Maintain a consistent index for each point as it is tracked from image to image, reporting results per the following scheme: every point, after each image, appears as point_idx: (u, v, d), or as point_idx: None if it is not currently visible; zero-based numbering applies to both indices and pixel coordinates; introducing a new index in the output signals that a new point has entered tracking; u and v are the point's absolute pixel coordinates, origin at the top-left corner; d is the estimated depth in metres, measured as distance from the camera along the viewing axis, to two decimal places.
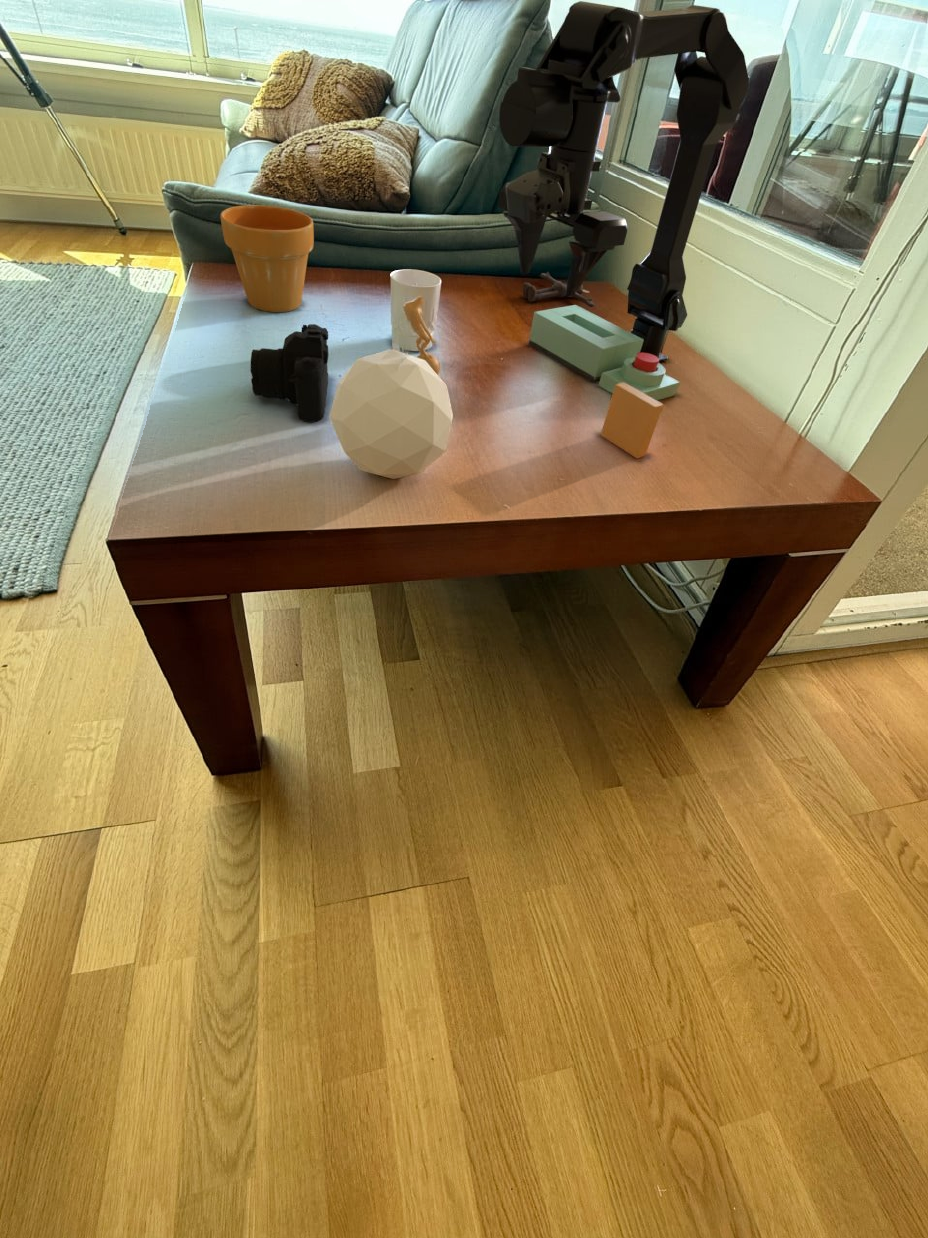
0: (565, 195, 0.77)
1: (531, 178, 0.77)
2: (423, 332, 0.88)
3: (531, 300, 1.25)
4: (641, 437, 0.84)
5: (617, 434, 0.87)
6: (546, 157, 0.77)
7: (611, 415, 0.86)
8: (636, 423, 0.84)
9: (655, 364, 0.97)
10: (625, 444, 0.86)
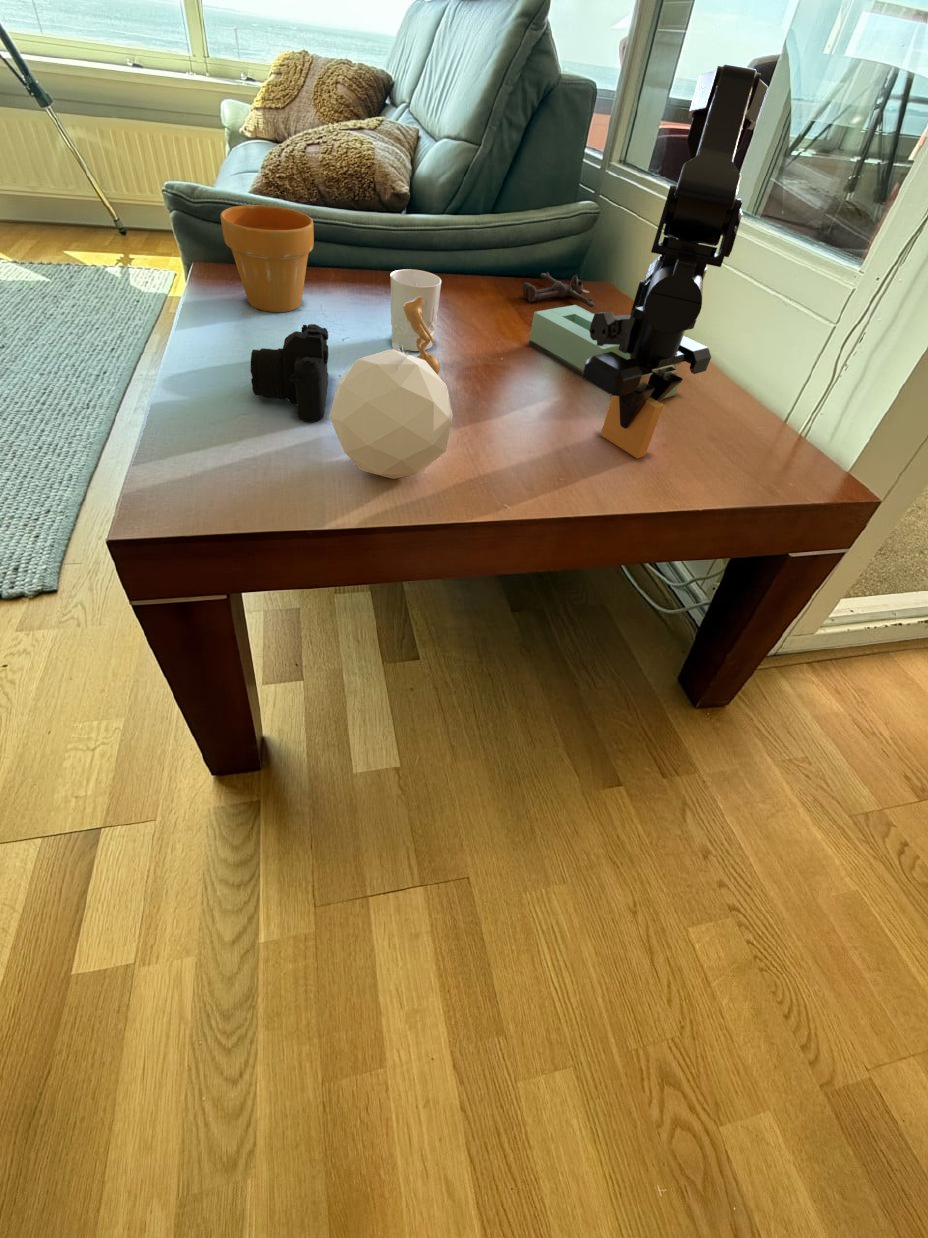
0: (624, 336, 0.78)
1: (630, 316, 0.80)
2: (423, 332, 0.88)
3: (531, 300, 1.25)
4: (641, 437, 0.84)
5: (617, 434, 0.87)
6: None
7: (611, 415, 0.86)
8: (636, 423, 0.84)
9: None
10: (624, 444, 0.86)
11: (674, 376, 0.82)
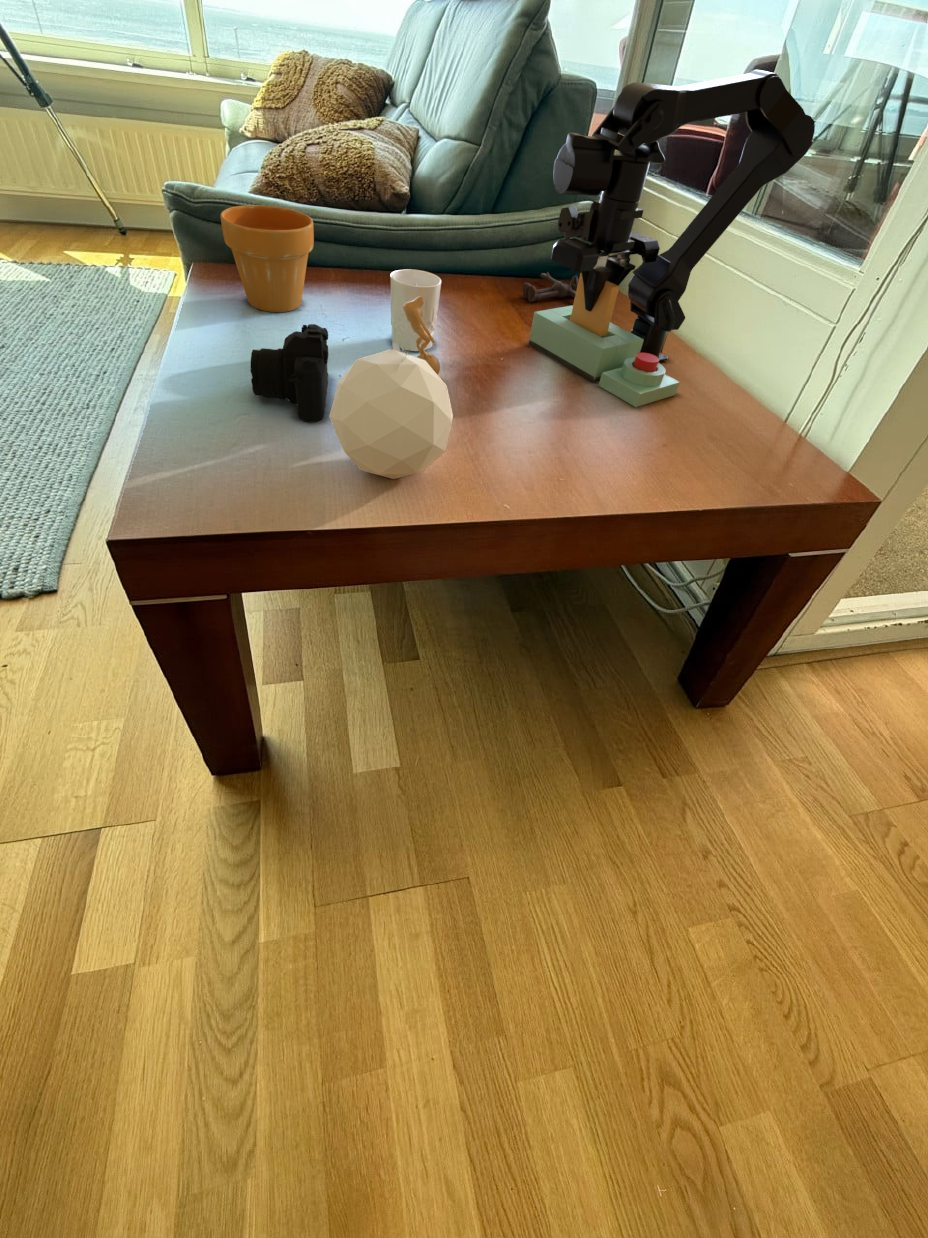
0: (585, 226, 0.95)
1: None
2: (423, 332, 0.88)
3: (531, 300, 1.25)
4: (602, 316, 1.01)
5: (583, 317, 1.03)
6: None
7: (578, 301, 1.03)
8: (597, 304, 1.00)
9: (655, 364, 0.97)
10: (589, 326, 1.03)
11: (628, 264, 0.98)
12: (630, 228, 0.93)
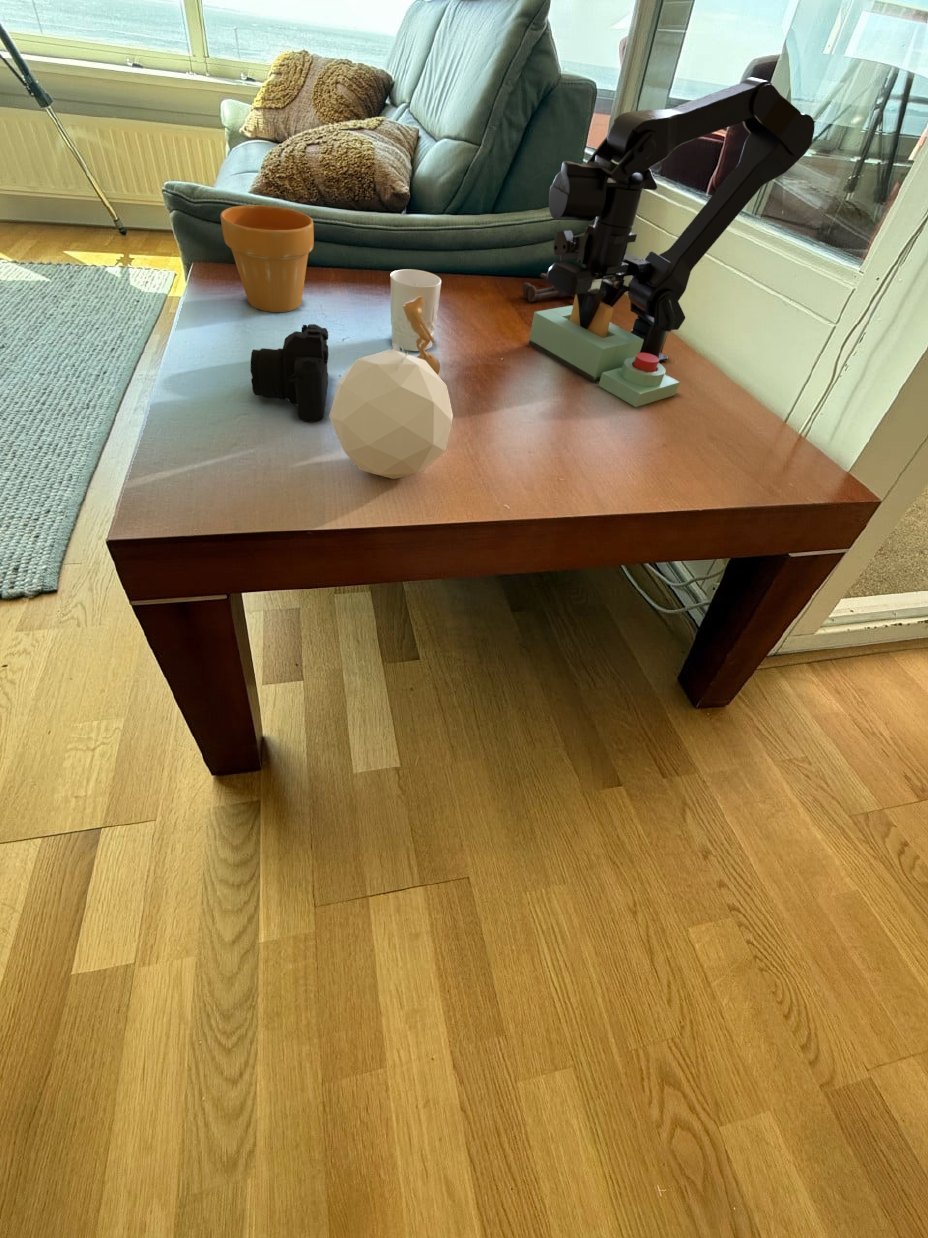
0: (580, 249, 0.97)
1: None
2: (423, 332, 0.88)
3: (531, 300, 1.25)
4: None
5: None
6: None
7: (573, 321, 1.05)
8: (592, 325, 1.03)
9: (655, 364, 0.97)
10: None
11: (622, 285, 1.01)
12: (624, 252, 0.95)
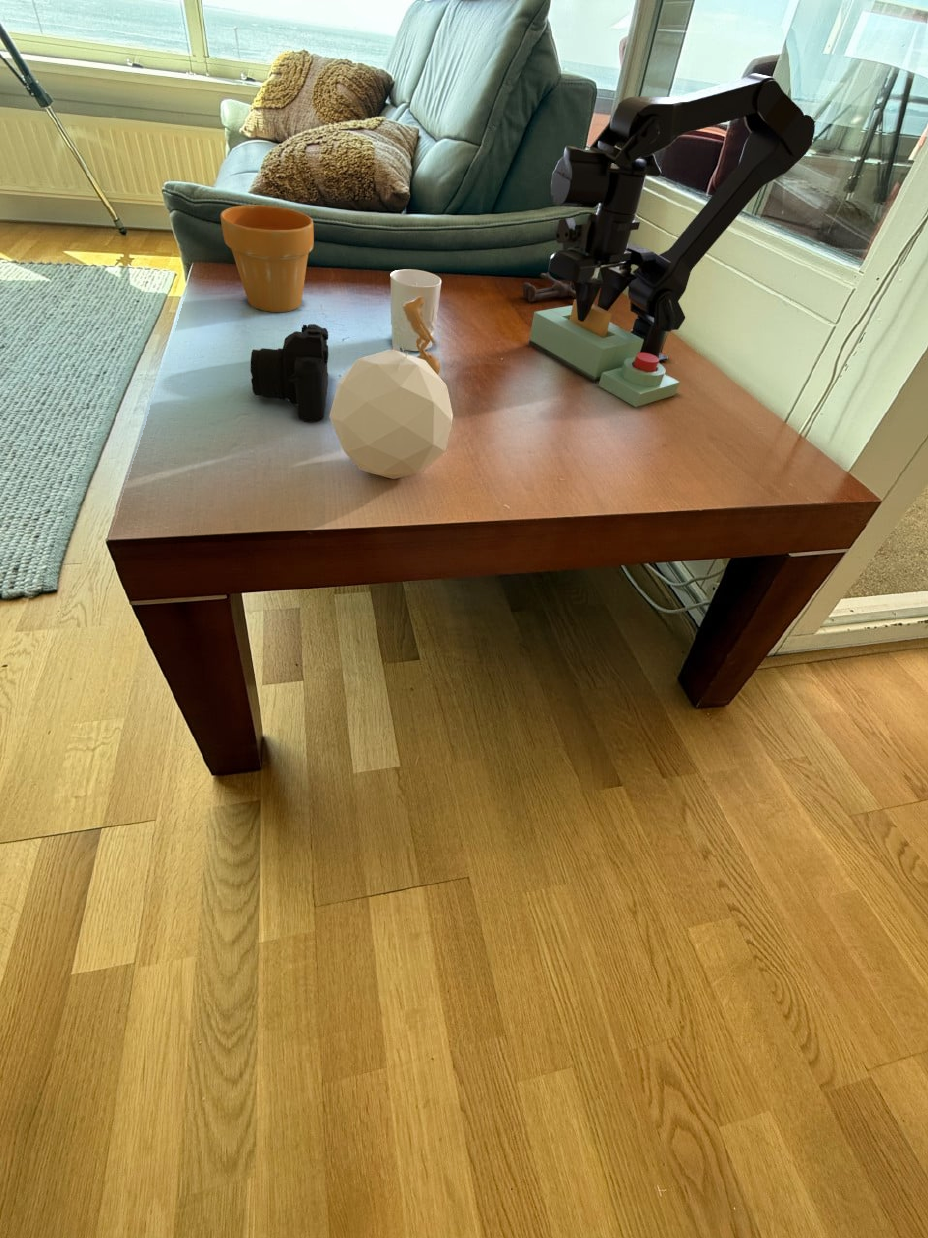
0: (582, 237, 0.96)
1: None
2: (423, 332, 0.88)
3: (531, 300, 1.25)
4: None
5: None
6: None
7: None
8: (590, 330, 1.03)
9: (655, 364, 0.97)
10: None
11: (630, 274, 1.00)
12: (627, 240, 0.94)
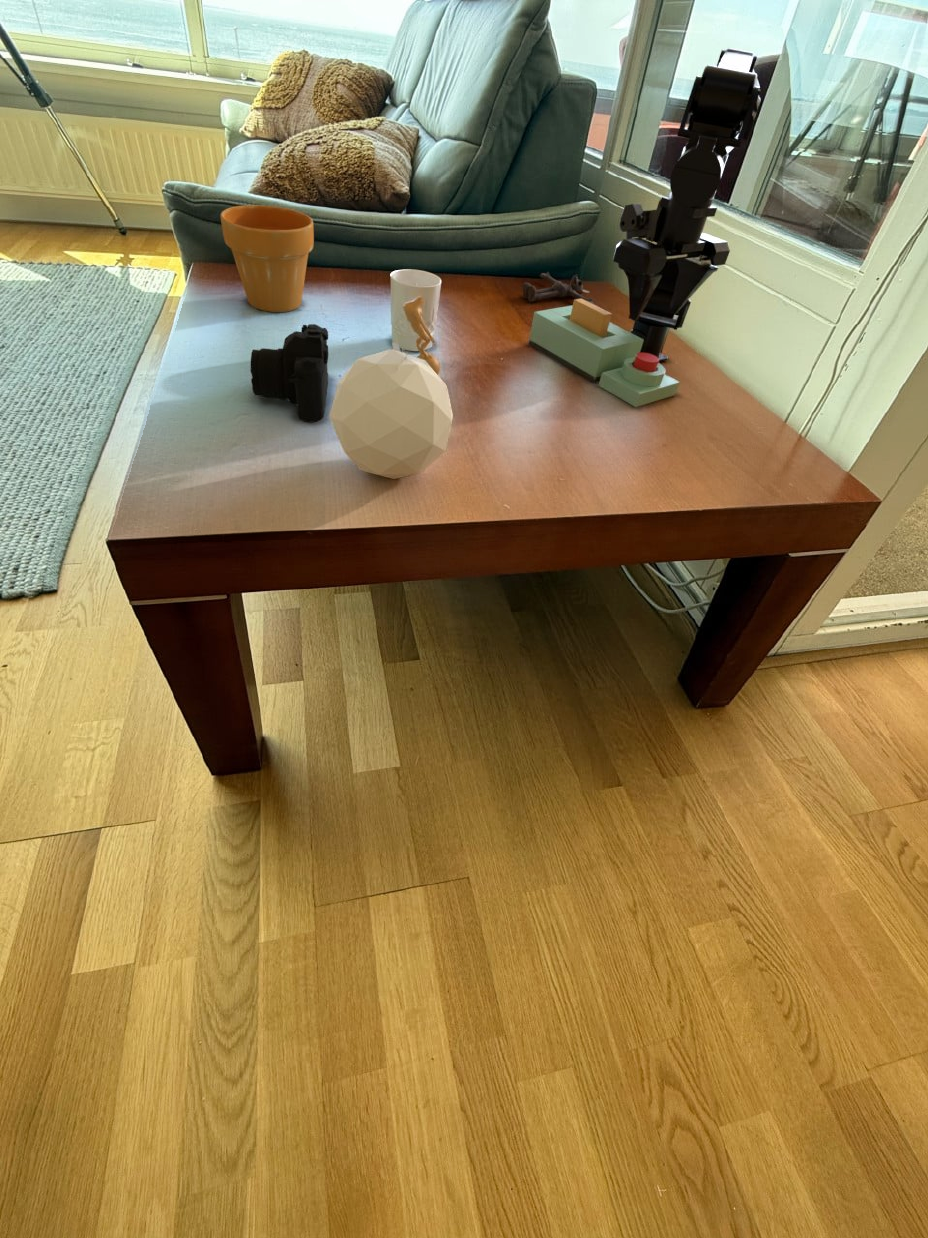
0: (651, 225, 0.86)
1: None
2: (423, 332, 0.88)
3: (531, 300, 1.25)
4: None
5: None
6: None
7: None
8: (590, 330, 1.03)
9: (655, 364, 0.97)
10: None
11: (710, 265, 0.92)
12: (701, 227, 0.85)
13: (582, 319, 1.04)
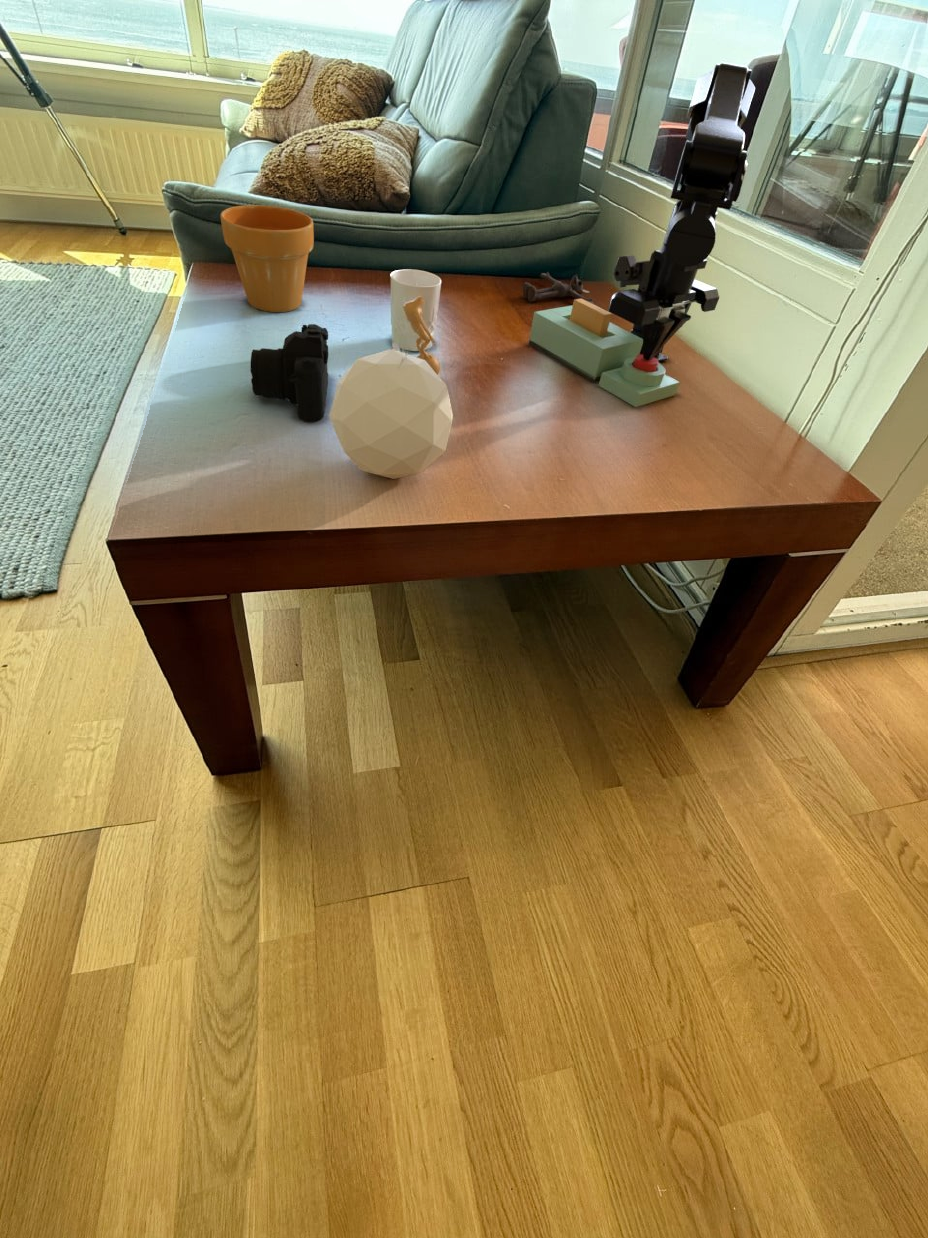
0: (644, 276, 0.90)
1: (649, 260, 0.93)
2: (423, 332, 0.88)
3: (531, 300, 1.25)
4: None
5: None
6: None
7: None
8: (590, 330, 1.03)
9: (654, 366, 0.97)
10: None
11: (683, 314, 0.94)
12: (693, 279, 0.88)
13: (582, 319, 1.04)
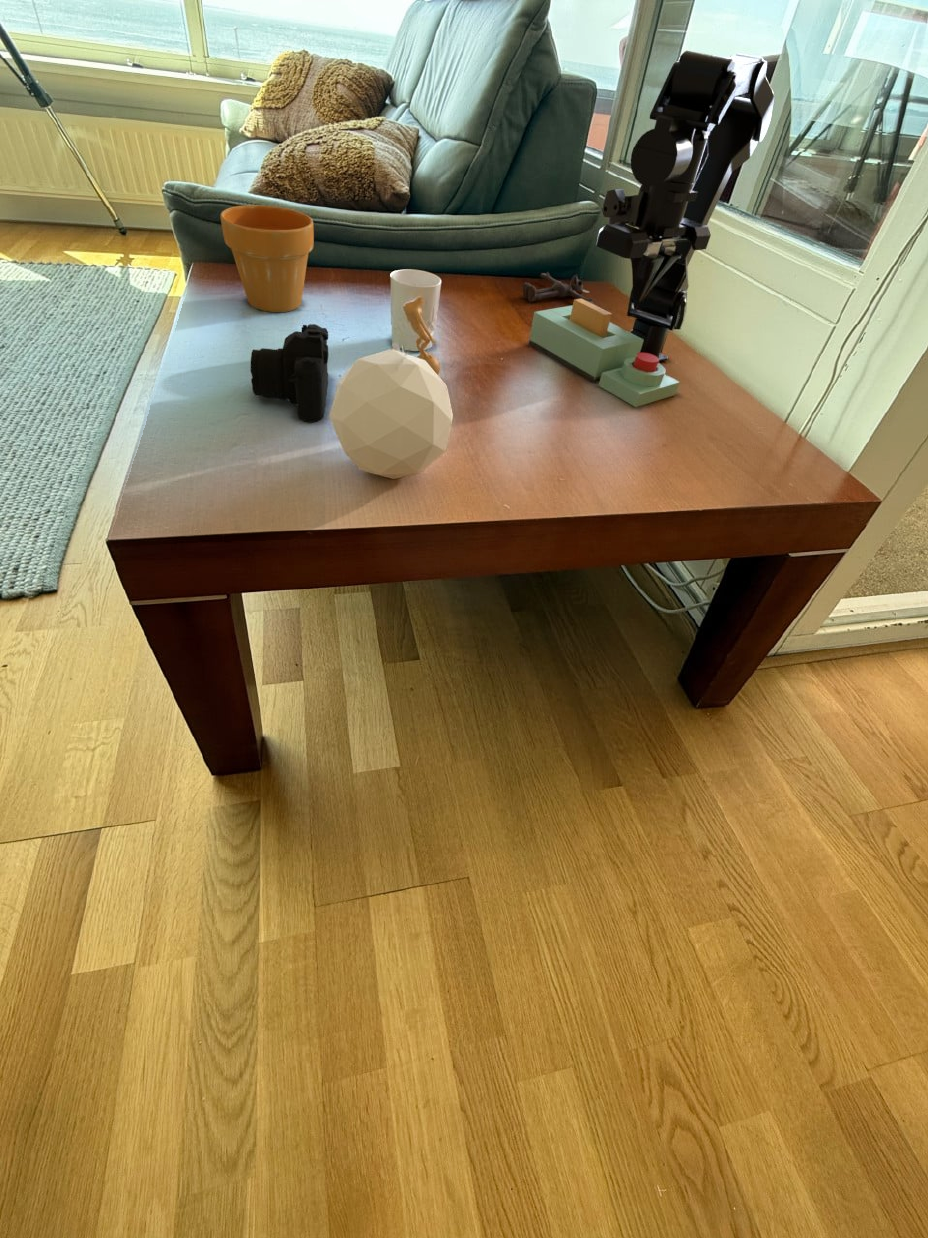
0: (633, 210, 0.88)
1: None
2: (423, 332, 0.88)
3: (531, 300, 1.25)
4: None
5: None
6: None
7: None
8: (590, 330, 1.03)
9: (655, 364, 0.97)
10: None
11: (674, 252, 0.91)
12: (682, 212, 0.86)
13: (582, 319, 1.04)
